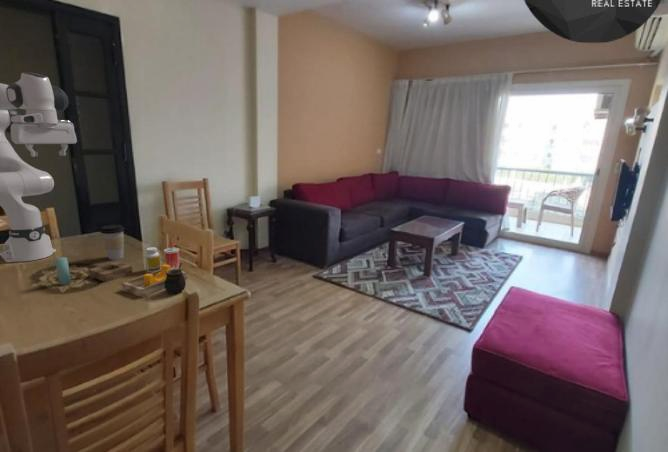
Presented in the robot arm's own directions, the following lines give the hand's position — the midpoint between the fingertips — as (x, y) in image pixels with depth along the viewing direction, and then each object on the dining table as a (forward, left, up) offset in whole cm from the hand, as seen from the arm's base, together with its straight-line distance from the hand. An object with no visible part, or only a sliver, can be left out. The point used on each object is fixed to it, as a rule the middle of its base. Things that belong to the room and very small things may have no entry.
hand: (49, 156), depth 134 cm
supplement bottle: (+29, +18, -48) cm, 59 cm away
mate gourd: (+54, +9, -48) cm, 73 cm away
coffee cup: (+1, +19, -48) cm, 51 cm away
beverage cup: (+35, +23, -48) cm, 64 cm away
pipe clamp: (+43, +9, -48) cm, 65 cm away
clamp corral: (+43, +9, -47) cm, 65 cm away
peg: (+13, -8, -47) cm, 50 cm away
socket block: (+19, +6, -47) cm, 51 cm away
